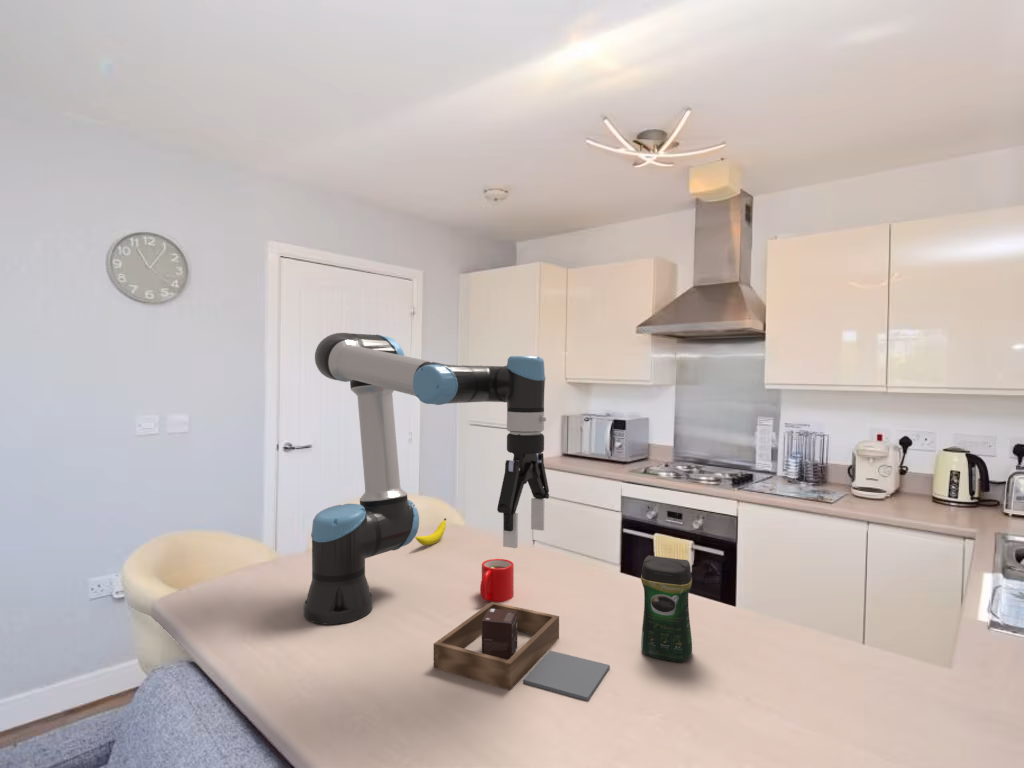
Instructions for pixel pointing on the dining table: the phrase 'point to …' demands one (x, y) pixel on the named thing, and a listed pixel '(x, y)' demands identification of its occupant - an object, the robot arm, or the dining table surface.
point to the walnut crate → (489, 667)
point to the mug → (497, 580)
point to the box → (499, 633)
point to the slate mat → (567, 675)
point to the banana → (433, 535)
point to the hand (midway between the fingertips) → (524, 537)
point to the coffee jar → (666, 608)
